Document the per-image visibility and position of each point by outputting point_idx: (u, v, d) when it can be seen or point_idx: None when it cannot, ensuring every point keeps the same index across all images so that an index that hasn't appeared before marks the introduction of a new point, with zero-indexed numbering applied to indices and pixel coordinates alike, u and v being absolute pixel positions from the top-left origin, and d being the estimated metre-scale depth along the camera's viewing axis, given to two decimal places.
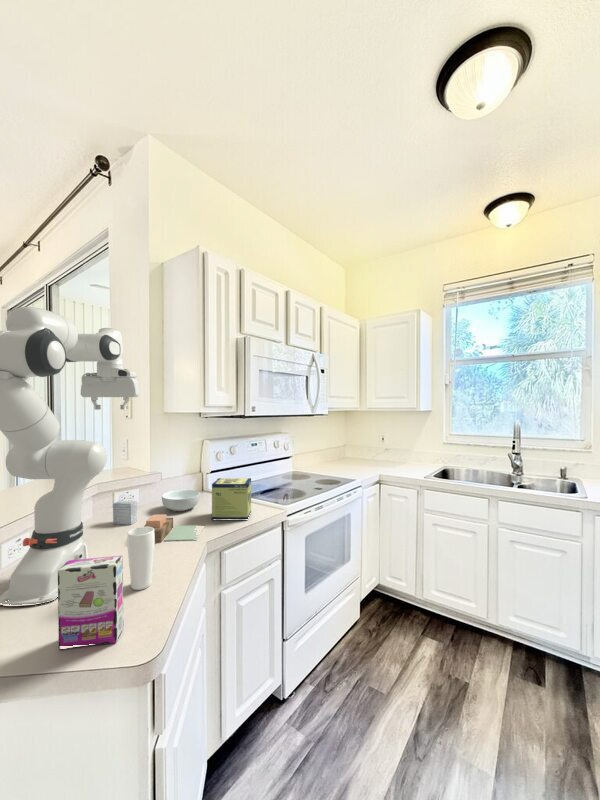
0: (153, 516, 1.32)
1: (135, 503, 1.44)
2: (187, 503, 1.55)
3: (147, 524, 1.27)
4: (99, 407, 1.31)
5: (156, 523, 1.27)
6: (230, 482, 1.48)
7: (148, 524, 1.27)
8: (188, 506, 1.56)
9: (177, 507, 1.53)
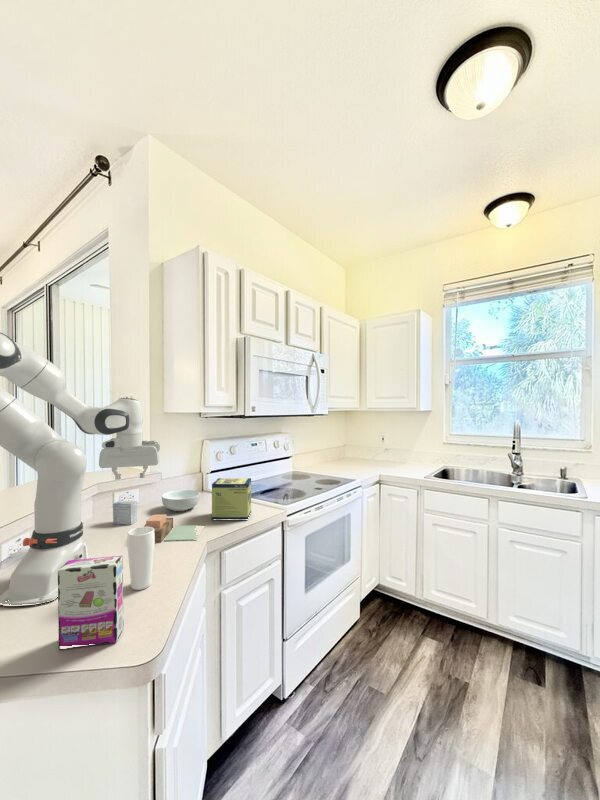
0: (153, 516, 1.32)
1: (135, 503, 1.44)
2: (187, 503, 1.55)
3: (147, 524, 1.27)
4: None
5: (156, 523, 1.27)
6: (230, 482, 1.48)
7: (148, 524, 1.27)
8: (188, 506, 1.56)
9: (177, 507, 1.53)
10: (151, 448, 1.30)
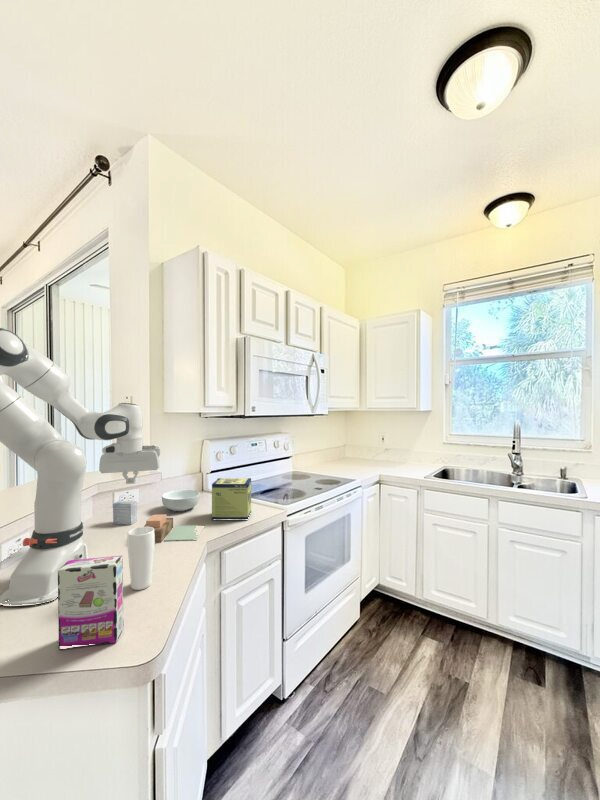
0: (153, 516, 1.32)
1: (135, 503, 1.44)
2: (187, 503, 1.55)
3: (147, 524, 1.27)
4: None
5: (156, 523, 1.27)
6: (230, 482, 1.48)
7: (148, 524, 1.27)
8: (188, 506, 1.56)
9: (177, 507, 1.53)
10: (151, 453, 1.30)
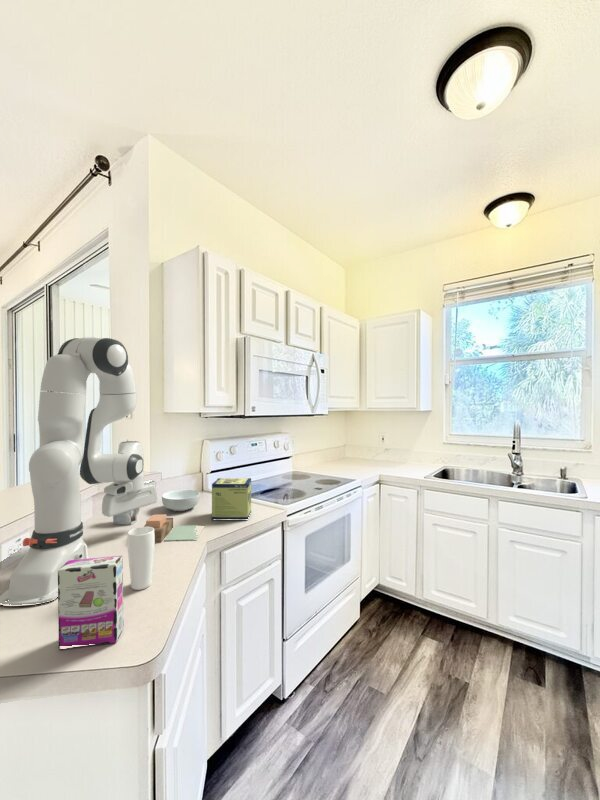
0: (153, 516, 1.32)
1: None
2: (187, 503, 1.55)
3: (147, 524, 1.27)
4: None
5: (156, 523, 1.27)
6: (230, 482, 1.48)
7: (148, 524, 1.27)
8: (188, 506, 1.56)
9: (177, 507, 1.53)
10: (152, 487, 1.35)
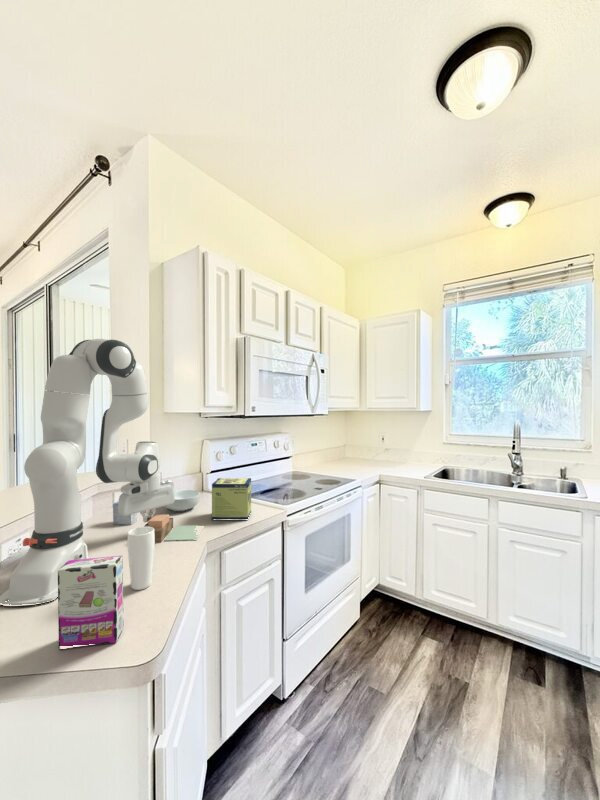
0: (156, 516, 1.31)
1: None
2: (187, 503, 1.55)
3: (149, 524, 1.27)
4: None
5: (158, 523, 1.27)
6: (230, 482, 1.48)
7: (150, 524, 1.27)
8: (188, 506, 1.56)
9: (177, 507, 1.53)
10: (169, 487, 1.35)
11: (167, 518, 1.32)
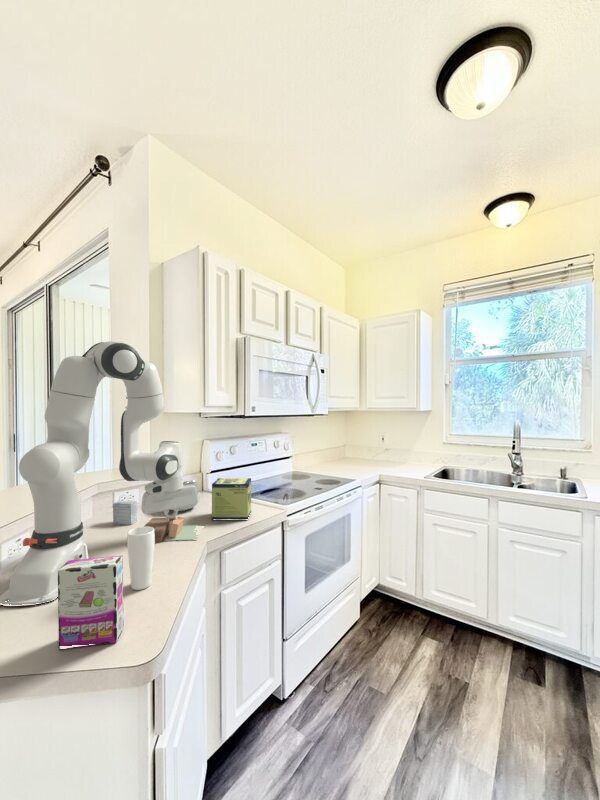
0: (182, 522, 1.31)
1: (135, 503, 1.44)
2: None
3: (174, 525, 1.26)
4: None
5: (173, 533, 1.26)
6: (230, 482, 1.48)
7: (175, 526, 1.26)
8: (188, 506, 1.56)
9: None
10: (192, 488, 1.34)
11: None
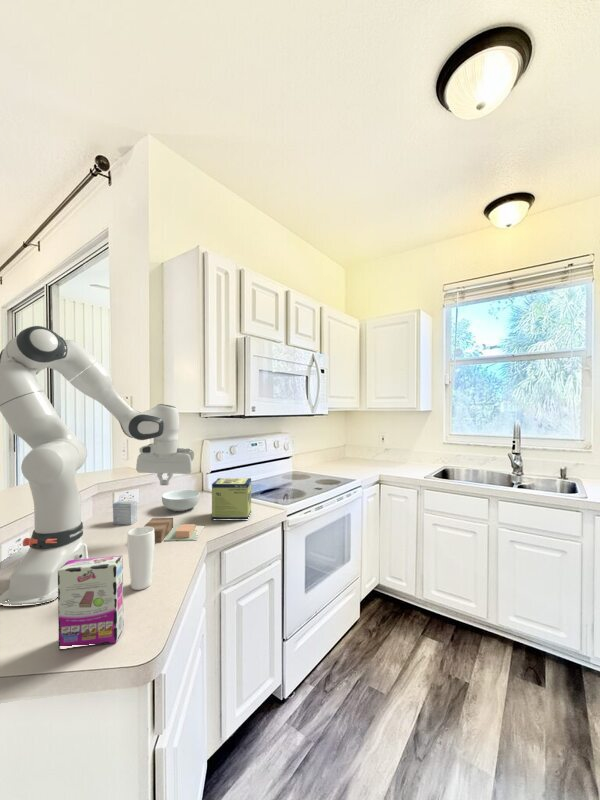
0: None
1: (135, 503, 1.44)
2: (187, 503, 1.55)
3: (187, 534, 1.26)
4: None
5: (179, 535, 1.26)
6: (230, 482, 1.48)
7: (186, 534, 1.26)
8: (188, 506, 1.56)
9: (177, 507, 1.53)
10: (185, 456, 1.28)
11: None
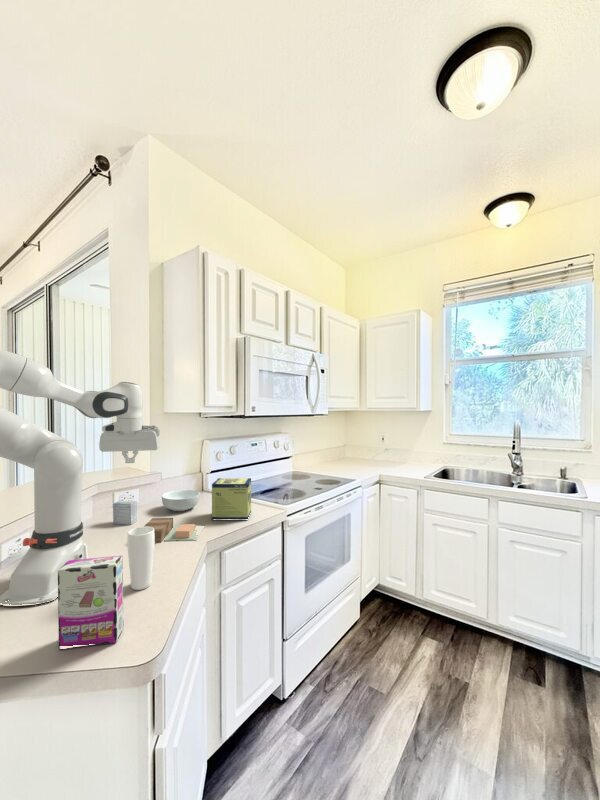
0: None
1: (135, 503, 1.44)
2: (187, 503, 1.55)
3: (187, 534, 1.26)
4: None
5: (179, 535, 1.26)
6: (230, 482, 1.48)
7: (186, 534, 1.26)
8: (188, 506, 1.56)
9: (177, 507, 1.53)
10: (150, 432, 1.29)
11: None
